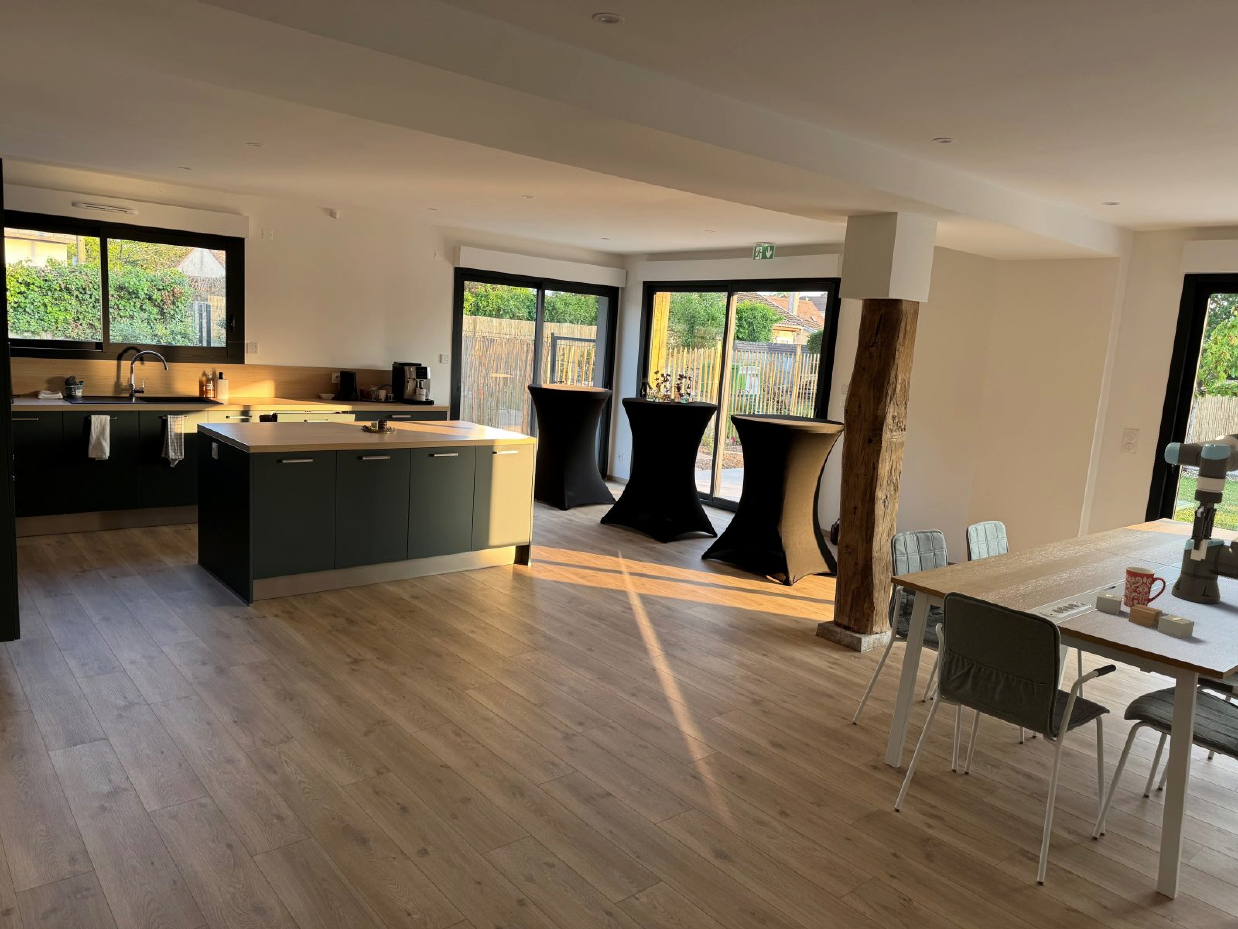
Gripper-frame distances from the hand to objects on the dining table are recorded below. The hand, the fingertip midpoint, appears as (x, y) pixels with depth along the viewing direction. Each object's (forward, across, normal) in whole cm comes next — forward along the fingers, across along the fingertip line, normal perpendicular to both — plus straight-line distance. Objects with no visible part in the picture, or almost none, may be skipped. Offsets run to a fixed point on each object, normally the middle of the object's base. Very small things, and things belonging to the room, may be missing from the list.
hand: (1197, 558), depth 277 cm
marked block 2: (+23, +17, +2) cm, 28 cm away
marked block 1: (+23, +10, -21) cm, 33 cm away
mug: (+23, -5, -16) cm, 28 cm away
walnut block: (+23, +14, -8) cm, 28 cm away
